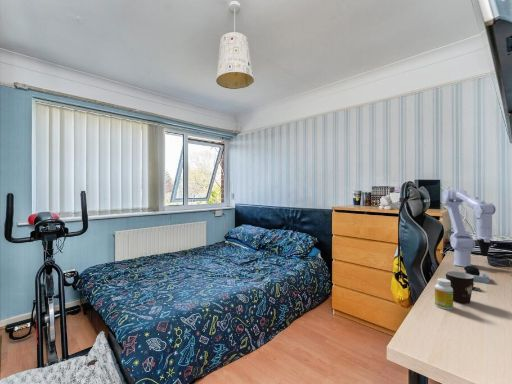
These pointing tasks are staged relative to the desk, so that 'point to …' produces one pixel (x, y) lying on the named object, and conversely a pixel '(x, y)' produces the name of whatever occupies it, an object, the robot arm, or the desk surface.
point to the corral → (480, 277)
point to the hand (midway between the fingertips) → (484, 254)
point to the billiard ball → (471, 270)
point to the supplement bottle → (444, 294)
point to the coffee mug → (460, 286)
